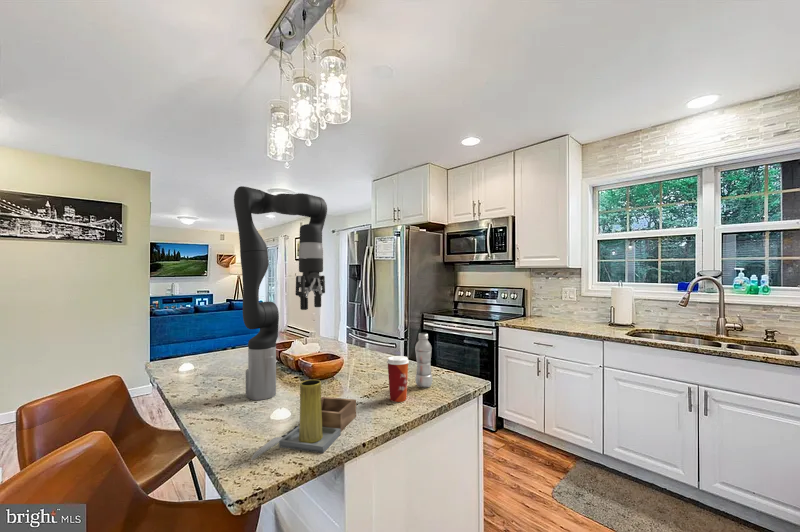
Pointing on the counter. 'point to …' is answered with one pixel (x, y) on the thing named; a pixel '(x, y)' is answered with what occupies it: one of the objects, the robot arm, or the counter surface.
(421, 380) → the plastic bottle
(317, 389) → the vase
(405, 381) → the paper cup
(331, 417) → the brown wooden box
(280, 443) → the tray
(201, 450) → the counter surface
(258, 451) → the chef's knife
